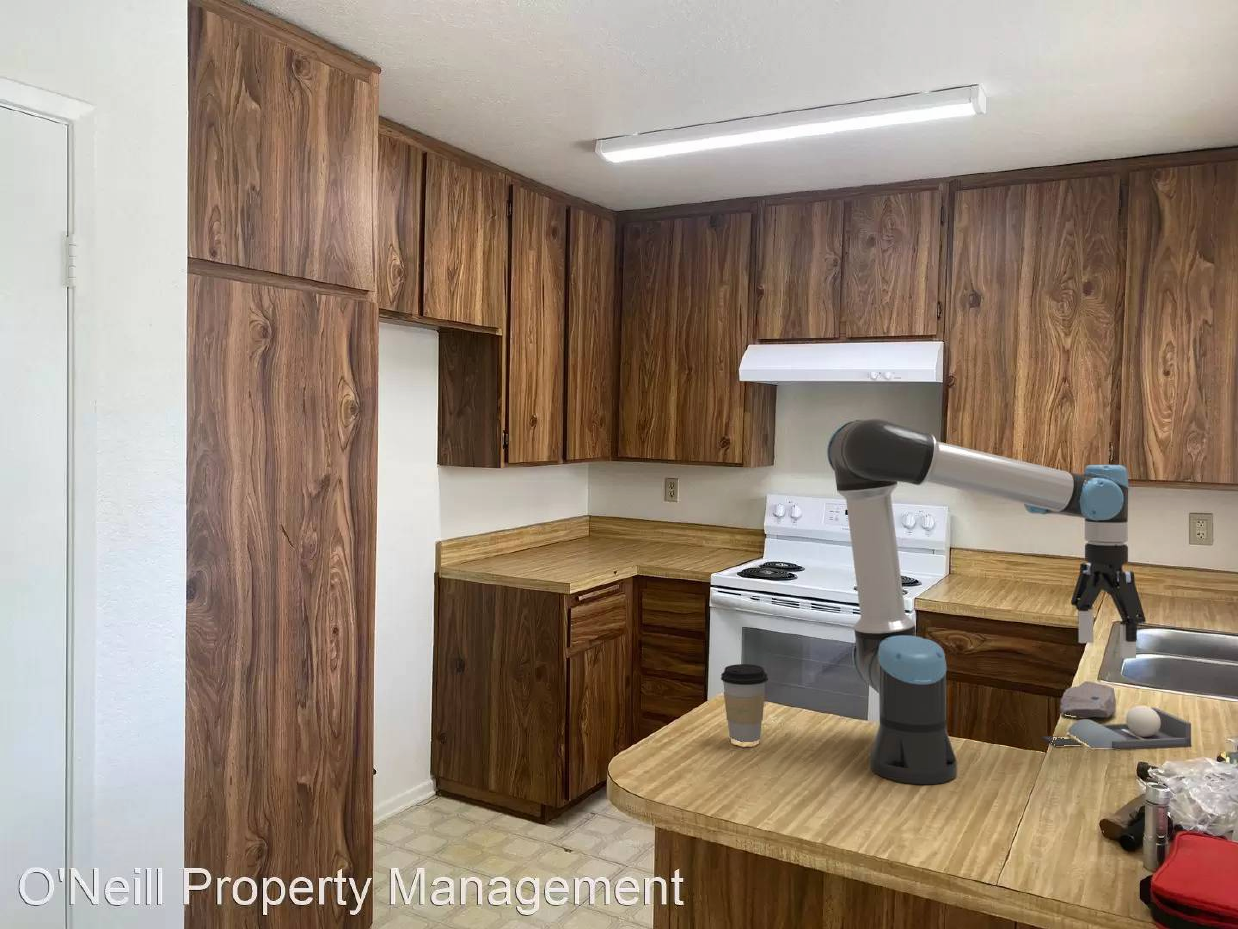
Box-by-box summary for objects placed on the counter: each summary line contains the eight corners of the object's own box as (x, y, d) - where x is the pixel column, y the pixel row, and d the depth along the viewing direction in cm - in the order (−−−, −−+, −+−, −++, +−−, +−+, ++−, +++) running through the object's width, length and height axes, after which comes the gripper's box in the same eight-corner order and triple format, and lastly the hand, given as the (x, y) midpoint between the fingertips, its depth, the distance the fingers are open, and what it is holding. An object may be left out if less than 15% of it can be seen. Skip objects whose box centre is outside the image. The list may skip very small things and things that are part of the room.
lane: (1114, 750, 175) (1114, 726, 175) (1082, 732, 185) (1082, 710, 185) (1191, 746, 176) (1191, 723, 176) (1154, 729, 186) (1154, 707, 186)
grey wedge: (1132, 773, 176) (1131, 732, 176) (1092, 775, 175) (1092, 734, 175) (1103, 757, 185) (1103, 718, 185) (1066, 759, 184) (1065, 720, 184)
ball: (1160, 705, 178) (1172, 732, 178) (1140, 696, 184) (1152, 723, 184) (1133, 718, 177) (1145, 746, 177) (1114, 709, 183) (1126, 736, 183)
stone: (1103, 726, 189) (1103, 697, 189) (1056, 717, 196) (1056, 689, 196) (1125, 713, 199) (1125, 686, 199) (1079, 705, 206) (1079, 678, 205)
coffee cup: (719, 749, 180) (717, 673, 179) (725, 734, 189) (723, 662, 189) (767, 752, 177) (765, 675, 177) (770, 736, 187) (769, 664, 186)
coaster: (1056, 747, 177) (1056, 745, 177) (1042, 739, 182) (1042, 736, 182) (1081, 746, 177) (1081, 743, 177) (1066, 738, 182) (1066, 735, 182)
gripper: (1167, 549, 167) (1166, 664, 167) (1087, 536, 192) (1087, 636, 192) (1128, 550, 166) (1128, 665, 167) (1053, 537, 191) (1053, 637, 192)
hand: (1106, 650), depth 180 cm, fingers open, 13 cm apart
